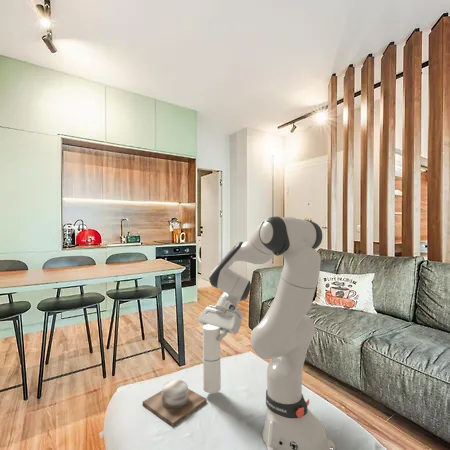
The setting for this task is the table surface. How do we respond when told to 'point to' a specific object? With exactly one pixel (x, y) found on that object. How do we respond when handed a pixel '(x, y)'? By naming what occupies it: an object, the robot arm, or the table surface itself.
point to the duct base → (174, 412)
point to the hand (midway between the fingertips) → (210, 337)
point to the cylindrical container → (211, 359)
